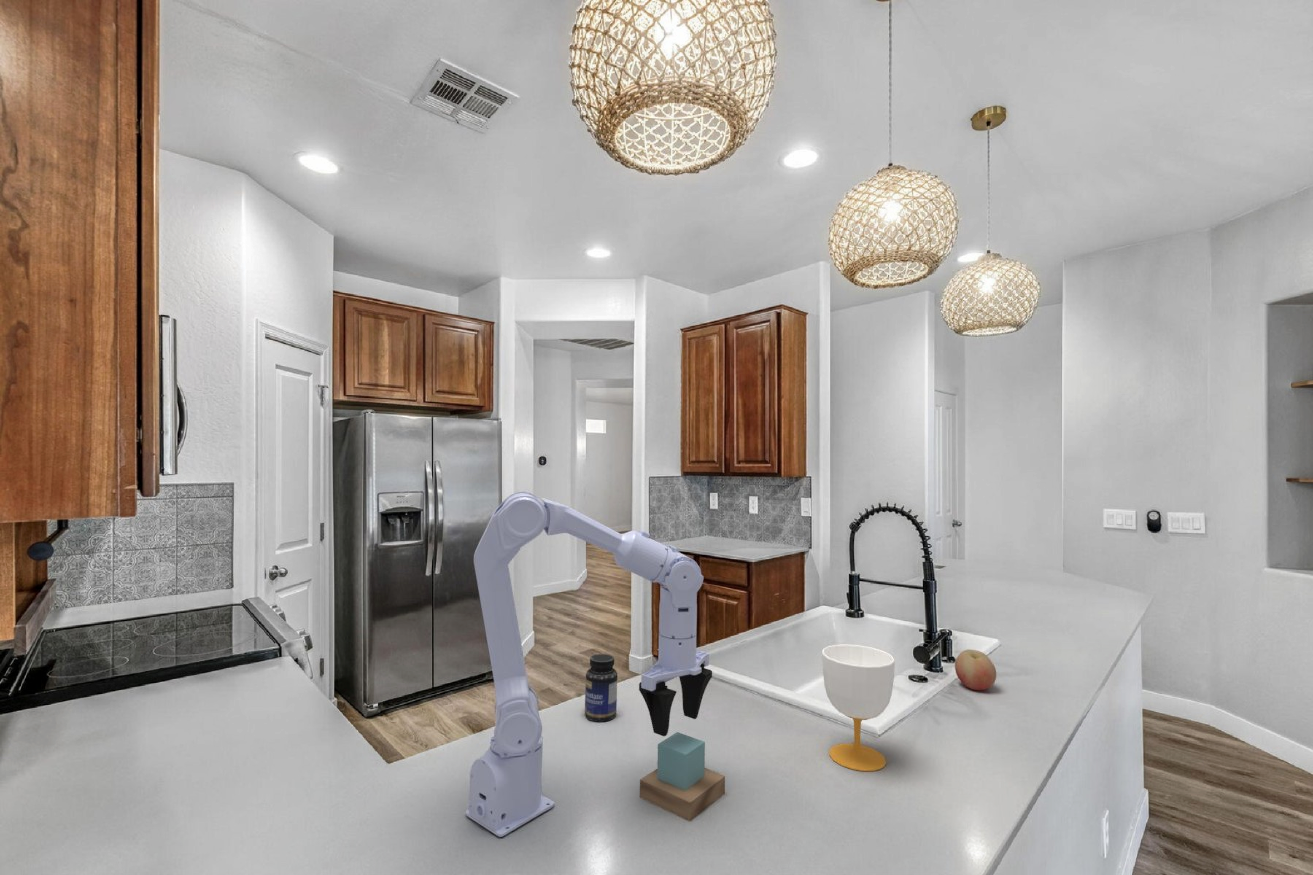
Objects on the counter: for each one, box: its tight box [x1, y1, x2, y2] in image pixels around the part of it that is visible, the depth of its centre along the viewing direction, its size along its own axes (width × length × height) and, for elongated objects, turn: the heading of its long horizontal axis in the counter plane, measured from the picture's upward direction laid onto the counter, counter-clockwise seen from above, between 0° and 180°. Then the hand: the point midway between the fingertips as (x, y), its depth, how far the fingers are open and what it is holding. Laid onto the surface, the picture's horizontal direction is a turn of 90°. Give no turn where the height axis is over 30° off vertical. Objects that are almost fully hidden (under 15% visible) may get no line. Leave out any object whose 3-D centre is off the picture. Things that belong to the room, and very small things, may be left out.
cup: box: [821, 643, 896, 772], centre depth 99 cm, size 12×12×17 cm
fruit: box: [954, 649, 997, 691], centre depth 132 cm, size 8×8×8 cm
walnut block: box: [639, 767, 726, 822], centre depth 87 cm, size 9×9×3 cm
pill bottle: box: [584, 653, 618, 722], centre depth 114 cm, size 6×6×11 cm
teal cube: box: [656, 731, 706, 791], centre depth 87 cm, size 5×5×5 cm
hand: (675, 724), depth 89 cm, fingers open, 7 cm apart
